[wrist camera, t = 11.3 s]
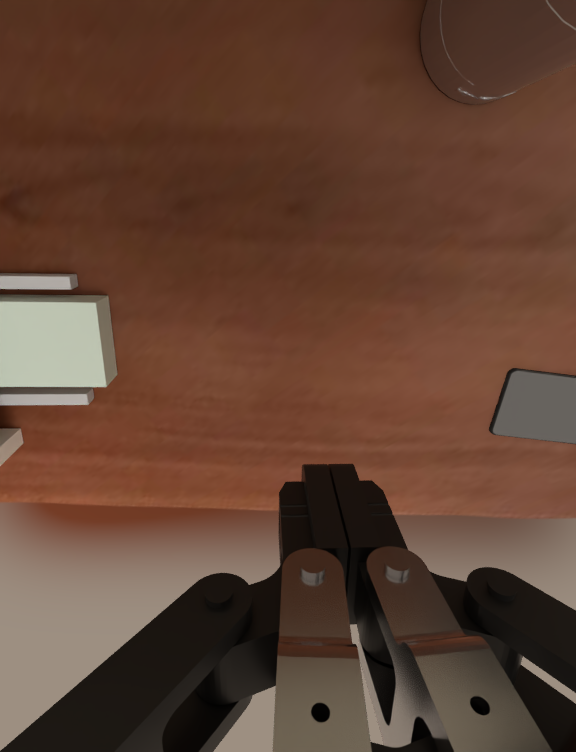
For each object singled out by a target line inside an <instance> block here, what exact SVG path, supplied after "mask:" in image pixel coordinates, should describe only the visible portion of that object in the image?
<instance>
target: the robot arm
mask: <svg viewBox="0 0 576 752" xmlns="http://www.w3.org/2000/svg"><path fill="white" fill-rule="evenodd" d="M420 42H421V53H422V57H423V61H424V65H425V67H426V69H427V71H428V74H429V76H430V78H431V79H432V81H433V82H434V83H435V85H436V86H437V87H438V88H439V90H441V91H442V92H443V93H445V94H446V95H447V96H448V97H450V98H452V99H454V100H457V101H459V102H461V103H467V104H484V103H488V102H491V101H494V100H497V99H500V98H503V97H505V96H508V95H510V94H512V93H515V92H517V90H519V89H522V88H524V87H526V86H529V85H531V84H533V83H535V82H537V81H539V80H542V79H544V78H546V77H548V76H550V75H552V74H554V73H557V72H559V71H561V70H563V69H565V68H567V67H570V66H572V65H574V64H576V0H428V1H427V3H426V6H425V10H424V13H423V17H422V22H421V32H420ZM279 551H280V567H279V569H278V570H277V571H276V572H275V573H274V574H273V575H272V576H270V577H269V578H267V579H265V580H263V581H260V582H257V583H254V584H251V585H248V583H247V582H246V581H245V580H244V579H242V578H241V577H239V576H237V575H233V574H229V573H217V574H212V575H209V576H206V577H204V578H202V579H200V580H199V581H198V582H196V583H195V584H194V585H193V586H192V587H190V588H189V589H188V590H187V591H186V592H185V593H184V594H182V595H181V596H180V597H179V598H178V599H176V600H175V601H174V602H173V603H172V604H171V605H169V607H167V608H166V609H165V610H164V611H162V612H161V613H160V614H159V615H158V616H157V617H156V618H154V619H153V620H152V621H151V622H150V623H149V624H147V625H146V626H145V627H144V628H143V629H142V630H141V631H139V632H138V633H137V634H136V635H135V636H133V637H132V638H131V639H130V640H129V641H128V642H126V643H125V644H124V645H123V646H122V647H121V648H120V649H118V650H117V651H116V652H115V653H114V654H113V655H111V656H110V657H109V658H108V659H107V660H106V661H104V662H103V663H102V664H101V665H100V666H99V667H97V668H96V669H95V670H94V671H93V672H92V673H90V674H89V675H88V676H87V677H86V678H85V679H83V680H82V681H81V682H80V683H79V684H78V685H77V686H75V687H74V688H73V689H72V690H71V691H70V692H69V693H67V694H66V695H65V696H64V697H63V698H61V699H60V700H59V701H58V702H57V703H56V704H54V705H53V706H52V707H51V708H50V709H49V710H48V711H46V712H45V713H44V714H43V715H42V716H40V717H39V718H38V719H37V720H36V721H35V722H34V723H32V724H31V725H30V726H29V727H28V728H27V729H25V730H24V731H23V732H22V733H21V734H20V735H18V736H17V737H16V738H15V739H14V740H13V741H11V742H10V743H9V744H8V745H7V746H6V747H4V748H3V749H2V750H1V751H0V752H213V751H214V750H215V749H216V747H217V746H218V745H219V743H220V742H221V741H222V739H223V738H224V737H225V735H226V734H227V733H228V731H229V730H230V729H231V728H232V726H233V725H234V724H235V722H236V721H237V720H238V718H239V717H240V716H241V715H242V713H243V712H244V710H245V709H246V708H247V706H248V705H249V703H250V701H251V699H252V695H254V694H256V693H258V692H261V691H263V690H266V689H268V688H271V687H273V686H276V694H275V714H274V736H273V752H576V704H575V703H574V702H572V701H571V700H570V699H568V698H567V697H565V696H564V695H563V694H561V693H560V692H558V691H557V690H556V689H554V688H552V687H551V686H550V685H548V684H547V683H546V682H544V681H543V680H542V679H540V678H539V677H537V676H536V675H534V674H533V673H532V672H530V671H529V670H527V669H526V668H525V667H523V666H522V665H520V664H521V660H522V657H523V656H524V657H525V658H526V659H528V660H529V661H531V662H532V663H534V664H535V665H536V666H538V667H539V668H541V669H542V670H544V671H545V672H547V673H548V674H549V675H551V676H552V677H554V678H555V679H557V680H558V681H560V682H561V683H562V684H564V685H565V686H567V687H568V688H570V689H571V690H572V691H574V692H575V693H576V611H575V610H574V609H572V608H570V607H568V606H567V605H565V604H563V603H562V602H560V601H558V600H556V599H555V598H553V597H551V596H549V595H548V594H546V593H544V592H543V591H541V590H539V589H537V588H536V587H534V586H532V585H530V584H529V583H527V582H525V581H523V580H522V579H520V578H518V577H517V576H515V575H513V574H511V573H509V572H506V571H504V570H501V569H497V568H490V567H484V568H478V569H476V570H473V571H472V572H471V573H470V574H469V576H468V578H467V582H464V581H460V580H456V579H451V578H447V577H443V576H439V575H436V574H434V573H432V572H430V571H429V570H428V568H427V566H426V565H425V563H424V562H423V561H422V560H421V558H419V557H418V556H417V555H416V554H414V553H412V552H411V551H409V550H408V549H407V546H406V544H405V541H404V539H403V537H402V534H401V532H400V530H399V527H398V525H397V523H396V520H395V518H394V515H392V511H391V508H390V506H389V505H388V501H387V499H386V497H385V494H384V492H383V490H382V489H381V488H379V487H378V486H377V485H376V484H375V483H374V482H373V481H359V478H358V475H357V472H356V470H355V467H354V465H353V464H328V465H327V464H307V465H302V482H285V484H284V486H283V487H282V489H281V491H280V492H279ZM350 624H357V627H358V632H359V643H358V649H357V646H356V644H352V639H351V632H350V631H351V630H350ZM360 663H361V667H362V670H363V673H364V677H365V680H366V684H367V687H368V690H369V694H370V697H371V700H372V704H373V707H374V711H375V714H376V718H377V721H378V724H379V728H380V731H381V735H382V739H383V745H380V744H376V743H372V742H370V735H369V728H368V720H367V712H366V705H365V697H364V690H363V683H362V675H361V668H360Z"/></svg>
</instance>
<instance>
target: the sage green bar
mask: <svg viewBox="0 0 576 752" xmlns="http://www.w3.org/2000/svg"><path fill="white" fill-rule="evenodd" d="M116 376H117V366H116V358H115V349H114V341H113V332H112V324H111V315H110V306H109V298H108V296H97V295H16V294H0V387H107V386H108V385H109V384H110V382H111V381H112V380H113V379H114V378H115V377H116Z"/></svg>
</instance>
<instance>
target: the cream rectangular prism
mask: <svg viewBox="0 0 576 752" xmlns="http://www.w3.org/2000/svg"><path fill="white" fill-rule="evenodd" d="M76 287H78V281H77V274H22V273H0V289H73V288H76ZM93 399H94V392H93V388H0V405H89V403H90V402H91V401H92V400H93ZM23 443H24V442H23V438H22V433H21V428H12V429H0V466H1V465H2V464H3V463H4V462H5V461H6V460H7V459H8V458H9V457H10V456H11V455H12V454H13V453H14V452H15V451H16V450H17V449H18V448H19V447H20V446H21V445H22V444H23Z"/></svg>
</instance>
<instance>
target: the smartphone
mask: <svg viewBox="0 0 576 752" xmlns="http://www.w3.org/2000/svg"><path fill="white" fill-rule="evenodd" d="M499 398H500V400H499V403H498V405H497V406H496V409H495V413H494V414H495V415H493V416H494V417H493V418H492V419H493V420H492V422H491V424H490V427H489V431H490V432H491V433H492V434H494V435H501V436H510V437H519V438H528V439H536V440H545V441H554V442H563V443H570V444H576V376H573V375H565V374H557V373H549V372H541V371H533V370H525V369H517V368H513V369H511V370H509V371H508V373H507V375H506V378H505V382H504V385H503V388H502V391H501V394H500V397H499Z"/></svg>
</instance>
